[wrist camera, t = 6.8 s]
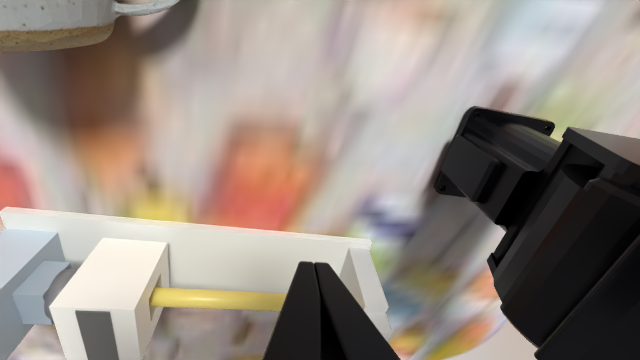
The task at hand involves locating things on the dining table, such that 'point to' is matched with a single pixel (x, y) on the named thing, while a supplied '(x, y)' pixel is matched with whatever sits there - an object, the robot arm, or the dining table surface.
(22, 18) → the ceramic mug
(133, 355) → the marker sleeve
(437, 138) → the dining table surface
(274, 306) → the cord rig
